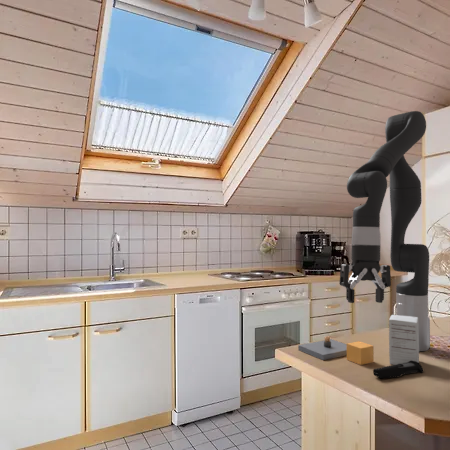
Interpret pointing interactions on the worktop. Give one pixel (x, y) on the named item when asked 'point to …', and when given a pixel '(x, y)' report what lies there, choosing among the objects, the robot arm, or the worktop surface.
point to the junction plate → (324, 349)
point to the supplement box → (403, 339)
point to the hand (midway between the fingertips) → (365, 302)
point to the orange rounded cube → (360, 353)
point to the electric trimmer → (398, 370)
